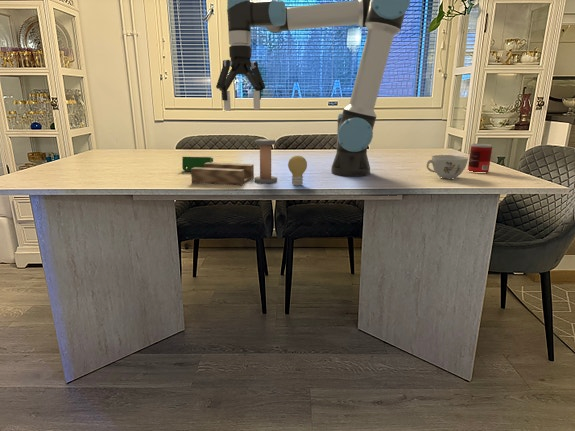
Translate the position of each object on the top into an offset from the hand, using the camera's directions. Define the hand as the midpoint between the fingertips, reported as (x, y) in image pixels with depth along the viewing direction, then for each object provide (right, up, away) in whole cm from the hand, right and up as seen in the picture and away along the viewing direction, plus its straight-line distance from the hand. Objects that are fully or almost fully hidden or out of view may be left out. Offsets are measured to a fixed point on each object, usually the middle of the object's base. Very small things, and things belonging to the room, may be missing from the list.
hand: (242, 110), depth 143 cm
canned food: (+93, -20, +19) cm, 97 cm away
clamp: (-20, -20, +19) cm, 34 cm away
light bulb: (+19, -27, -6) cm, 34 cm away
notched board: (-7, -25, 0) cm, 26 cm away
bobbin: (+8, -26, -1) cm, 27 cm away
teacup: (+75, -24, +7) cm, 79 cm away
